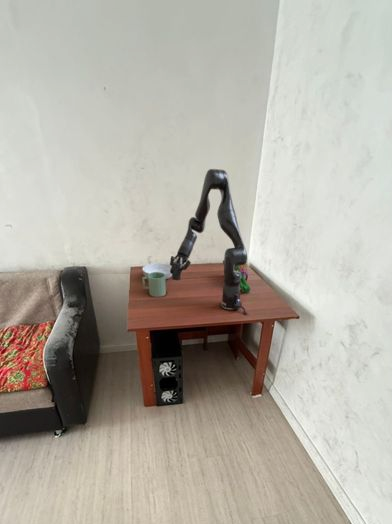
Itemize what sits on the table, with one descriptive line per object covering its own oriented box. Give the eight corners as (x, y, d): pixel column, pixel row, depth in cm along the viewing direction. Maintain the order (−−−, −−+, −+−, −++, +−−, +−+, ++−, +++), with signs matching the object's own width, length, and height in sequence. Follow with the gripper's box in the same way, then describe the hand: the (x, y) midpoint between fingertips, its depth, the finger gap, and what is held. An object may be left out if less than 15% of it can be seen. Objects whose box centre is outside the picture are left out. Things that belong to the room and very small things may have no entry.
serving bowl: (178, 281, 194) (178, 271, 190) (148, 286, 187) (147, 276, 182) (167, 270, 209) (167, 261, 205) (139, 274, 202) (138, 265, 198)
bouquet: (233, 303, 185) (219, 275, 204) (257, 300, 188) (241, 273, 207) (239, 276, 170) (223, 249, 189) (265, 274, 174) (247, 248, 193)
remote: (174, 277, 183) (174, 262, 177) (180, 279, 181) (180, 263, 175) (172, 279, 181) (171, 263, 175) (178, 280, 179) (177, 264, 173)
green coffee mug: (167, 290, 183) (166, 272, 176) (164, 297, 175) (163, 279, 168) (145, 288, 184) (144, 271, 177) (141, 295, 176) (139, 277, 169)
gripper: (173, 243, 178) (162, 268, 177) (193, 247, 172) (181, 273, 171) (178, 250, 185) (167, 274, 183) (197, 254, 179) (186, 279, 177)
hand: (174, 273), depth 177 cm, fingers closed on remote, 4 cm apart
